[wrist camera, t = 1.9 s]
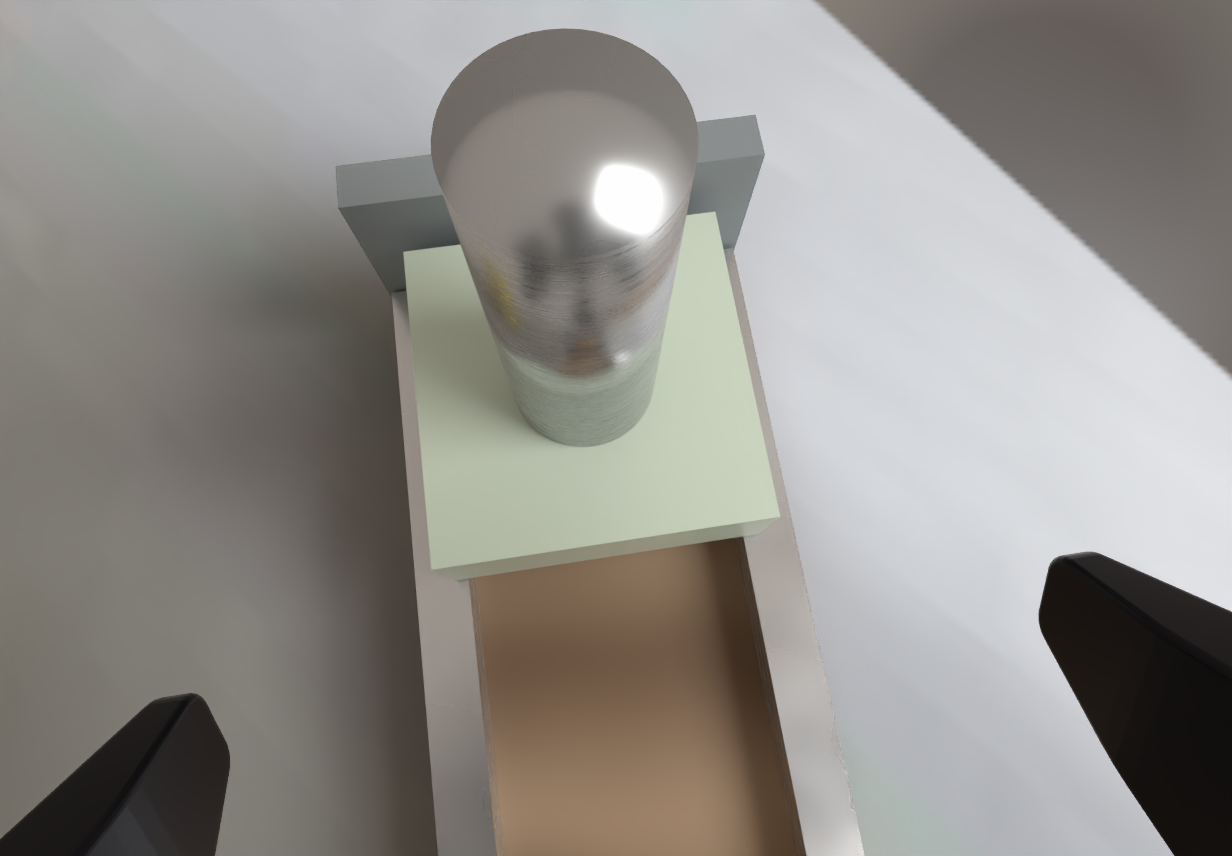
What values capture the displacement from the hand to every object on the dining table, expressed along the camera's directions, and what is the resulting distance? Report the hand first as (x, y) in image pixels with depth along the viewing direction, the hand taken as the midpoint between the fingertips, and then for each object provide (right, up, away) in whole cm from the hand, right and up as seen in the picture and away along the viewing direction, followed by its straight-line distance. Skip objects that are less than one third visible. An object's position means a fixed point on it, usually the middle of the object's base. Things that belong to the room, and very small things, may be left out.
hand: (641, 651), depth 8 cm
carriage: (-1, +3, +11) cm, 11 cm away
